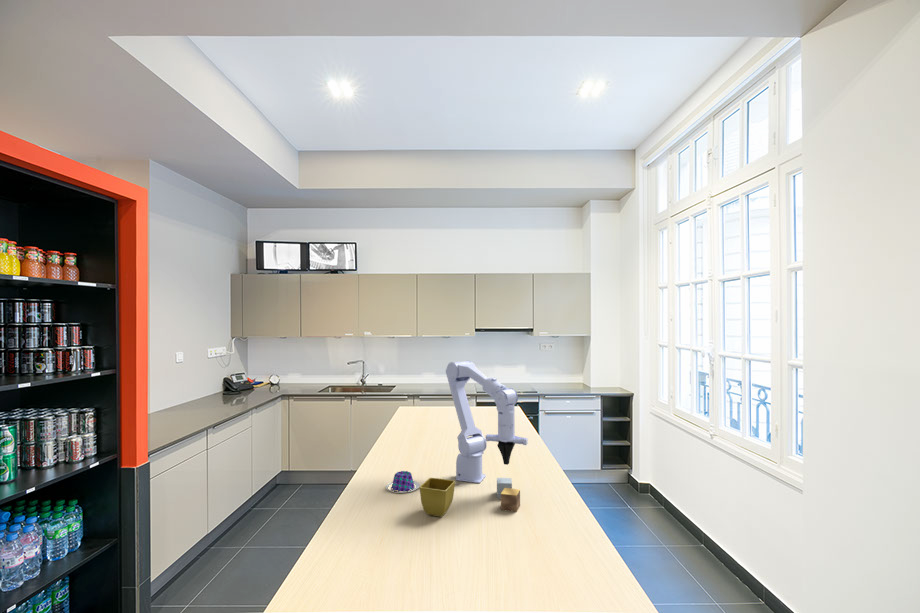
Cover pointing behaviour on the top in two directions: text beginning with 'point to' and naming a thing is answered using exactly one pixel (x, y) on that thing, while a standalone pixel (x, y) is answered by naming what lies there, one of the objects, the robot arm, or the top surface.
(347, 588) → the top surface
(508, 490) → the walnut cube
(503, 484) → the slate-grey cube
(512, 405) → the robot arm
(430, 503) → the flower pot
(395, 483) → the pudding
